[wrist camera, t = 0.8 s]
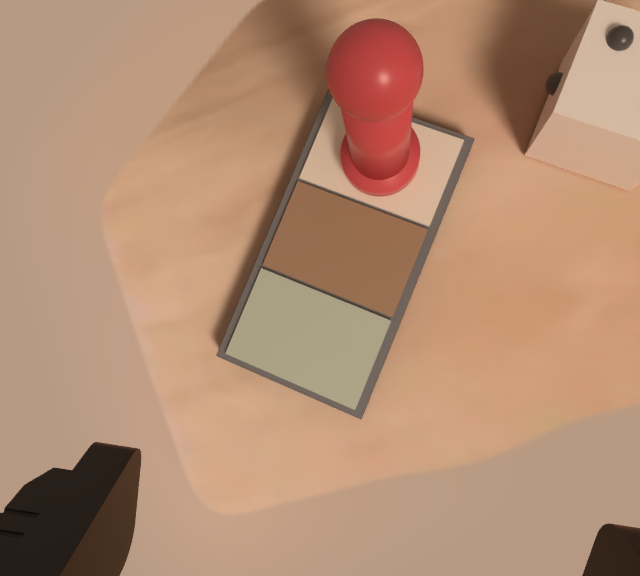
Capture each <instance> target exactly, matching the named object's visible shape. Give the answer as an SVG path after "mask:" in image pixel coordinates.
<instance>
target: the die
mask: <svg viewBox="0 0 640 576" xmlns="http://www.w3.org/2000/svg"><path fill="white" fill-rule="evenodd" d="M546 90H547V92H548V93H549V95H548V98H547V100H546V103H545V105H544V108H543V110H542V113H541V115H540V118H539V120H538V123H537V125H536V128H535V130H534V133H533V135H532V138H531V140H530V143H529V145H528V148H527V150H526V153H525V156H528V157H531V158H534V159H537V160H540V161H543V162H546V163H549V164H552V165H554V166H557V167H560V168H563V169H566V170H569V171H572V172H575V173H578V174H581V175H584V176H587V177H590V178H593V179H596V180H598V181H601V182H604V183H607V184H610V185H613V186H616V187H619V188H622V189H625V190H628V191H629V190H630V189H632V188H633V187H635V186H636V185H637V184H639V183H640V11H637V10H634V9H630V8H627V7H623V6H620V5H616V4H613V3H610V2H606V1H603V0H597V2H596V3H595V5H594V7H593V9H592V10H591V12H590V14H589V16H588V17H587V19H586V21H585V22H584V24H583V26H582V28H581V29H580V31H579V33H578V35H577V36H576V38H575V40H574V42H573V43H572V45H571V47H570V48H569V50H568V52H567V54H566V55H565V57H564V59H563V61H562V62H561V65H560V67H559V70H558V72H557V73H554V74H552V75H551V76H550V77H549V78H548V80H547V82H546Z"/></svg>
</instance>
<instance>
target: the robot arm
mask: <svg viewBox="0 0 640 576" xmlns="http://www.w3.org/2000/svg"><path fill="white" fill-rule="evenodd" d="M140 466H141V451H140V449H137V448H131V447H125V446H118V445H111V444H105V443H99V442H95V443H93V444H92V445H91V446H90V447H89V449H88V450H87V451H86V453H85V454H84V455H83V457H82V458H81V460H80V461H79V462H78V463H77V465H76V466H75V467H74V469H73V470H66V469H59V468H52V469H51V470H49V471H47V472H46V473H44V474H43V475H40V476H39V477H37V478H35V479H34V480H32V481H30V482H29V483H27V484H25V485H24V486H23V487H22V488H21V490H20V491H19V492H18V493H17V494H16V495H15V497H14V498H13V499H12V500H11V501H10V502H9V504H8V505H7V506H6V507H5V510H4V512H3V513H0V576H119V575H120V573H121V571H122V569H123V567H124V565H125V562H126V559H127V556H128V553H129V550H130V546H131V542H132V538H133V533H134V527H135V518H136V507H137V497H138V486H139V477H140V476H139V475H140ZM582 576H640V528H634V527H628V526H622V525H615V524H605V525H603V526H602V527H601V529H600V530H599V532H598V534H597V536H596V539H595V542H594V545H593V547H592V550H591V553H590V556H589V559H588V561H587V564H586V567H585V570H584V573H583V575H582Z"/></svg>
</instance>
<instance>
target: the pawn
mask: <svg viewBox="0 0 640 576" xmlns="http://www.w3.org/2000/svg"><path fill="white" fill-rule="evenodd" d="M326 75H327V83H328V87H329V90H330V93H331V95H332V97H333V99H334V100H335V102H336V103H337V105H338V106H339V107H340V108H341V112H342V116H343V121H344V126H345V130H346V134H345V136H344V138H343V141H342V144H341V150H340V157H341V163H342V167H343V170H344V173H345V176H346V177H347V179H348V181H349V182H350V183H351V184H352V186H353V187H355V188H356V189H357V190H359V191H360V192H362V193H364V194H367V195H370V196H376V197H382V196H389V195H392V194H395V193H397V192H399V191H401V190H402V189H404V188H405V187H406V186H407V185H409V183H410V182H411V181H412V180H413V178H414V177H415V175H416V173H417V170H418V166H419V160H420V143H419V139H418V137H417V134H416V133H415V131H414V130H413V128H412V127H411V124H412V111H413V100H414V99H415V97H416V95H417V93H418V91H419V89H420V86H421V83H422V78H423V58H422V54H421V51H420V48H419V46H418V44H417V42H416V40H415V39H414V38H413V36H412V35H411V34H410V33H409V32H408V31H407V30H406V29H405V28H403V27H402V26H400V25H399V24H397V23H395V22H392V21H390V20H386V19H367V20H363V21H360V22H358V23H356V24H354V25H352V26H351V27H349V28H348V29H346V30H345V31H344V32H343V33H342V34H341V35H340V36H339V37H338V39H337V40H336V42H335V43H334V45H333V47H332V49H331V51H330V54H329V57H328V61H327V69H326Z"/></svg>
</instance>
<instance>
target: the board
mask: <svg viewBox="0 0 640 576" xmlns="http://www.w3.org/2000/svg"><path fill="white" fill-rule="evenodd" d="M411 127H412V128H413V130H414V131H415V133H416V134H417V137H418V139H419V143H420V160H419V166H418V170H417V173H416V175H415V177H414V178H413V180H412V181H411V182H410V183H409V185H407V186H406V187H405V188H404V189H402V190H401V191H399V192H397V193H395V194H392V195H389V196H382V197H376V196H370V195H367V194H364V193H362V192H360V191H359V190H357V189H356V188H355V187H353V186H352V184H351V183H350V182H349V181H348V179H347V177H346V176H345V173H344V170H343V167H342V163H341V157H340V150H341V144H342V141H343V138H344V136H345V134H346V130H345V126H344V121H343V116H342V112H341V108H340V107H339V106H338V105H337V103H336V102H335V100H334V99H333V97H332V95H331V93H330V90H329V89H328V92H327V94H326V96H325V99H324V101H323V103H322V106H321V108H320V111H319V113H318V115H317V118H316V120H315V122H314V125H313V127H312V130H311V132H310V134H309V137H308V139H307V141H306V144H305V146H304V149H303V151H302V153H301V156H300V158H299V160H298V163H297V165H296V168H295V170H294V172H293V175H292V177H291V179H290V182H289V184H288V187H287V189H286V191H285V194H284V196H283V198H282V201H281V203H280V206H279V208H278V210H277V213H276V215H275V217H274V220H273V222H272V225H271V227H270V229H269V232H268V234H267V236H266V239H265V241H264V244H263V246H262V248H261V251H260V253H259V255H258V258H257V260H256V262H255V265H254V267H253V270H252V272H251V274H250V277H249V279H248V281H247V284H246V286H245V289H244V291H243V293H242V296H241V298H240V300H239V303H238V305H237V308H236V310H235V312H234V315H233V317H232V319H231V322H230V324H229V327H228V329H227V331H226V334H225V336H224V338H223V341H222V343H221V346H220V348H219V350H218V353H217V355H216V356H218V357H220V358H222V359H224V360H227V361H229V362H231V363H234V364H236V365H238V366H240V367H243V368H245V369H247V370H250V371H252V372H254V373H256V374H259V375H261V376H263V377H266V378H268V379H270V380H272V381H275V382H277V383H279V384H282V385H284V386H286V387H288V388H291V389H293V390H295V391H298V392H300V393H302V394H304V395H307V396H309V397H311V398H314V399H316V400H318V401H320V402H323V403H325V404H327V405H330V406H332V407H334V408H336V409H339V410H341V411H343V412H345V413H348V414H350V415H352V416H355V417H357V418H359V419H362V417H363V414H364V412H365V409H366V407H367V404H368V402H369V399H370V397H371V394H372V392H373V389H374V387H375V384H376V382H377V380H378V377H379V375H380V372H381V370H382V367H383V365H384V362H385V360H386V357H387V355H388V352H389V350H390V347H391V345H392V342H393V340H394V337H395V335H396V332H397V330H398V328H399V325H400V323H401V320H402V318H403V315H404V313H405V310H406V308H407V305H408V303H409V300H410V298H411V295H412V293H413V290H414V288H415V285H416V283H417V280H418V278H419V275H420V273H421V271H422V268H423V266H424V263H425V261H426V258H427V256H428V253H429V251H430V248H431V246H432V243H433V241H434V238H435V236H436V233H437V231H438V228H439V226H440V223H441V221H442V219H443V216H444V214H445V211H446V209H447V206H448V204H449V201H450V199H451V196H452V194H453V191H454V189H455V186H456V184H457V181H458V179H459V176H460V174H461V171H462V169H463V166H464V164H465V162H466V159H467V157H468V154H469V152H470V149H471V147H472V144H473V141H474V138H472V137H469V136H466V135H463V134H460V133H457V132H454V131H451V130H448V129H445V128H442V127H439V126H436V125H433V124H430V123H428V122H425V121H422V120H419V119H416V118H413V117H412V124H411Z"/></svg>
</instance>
